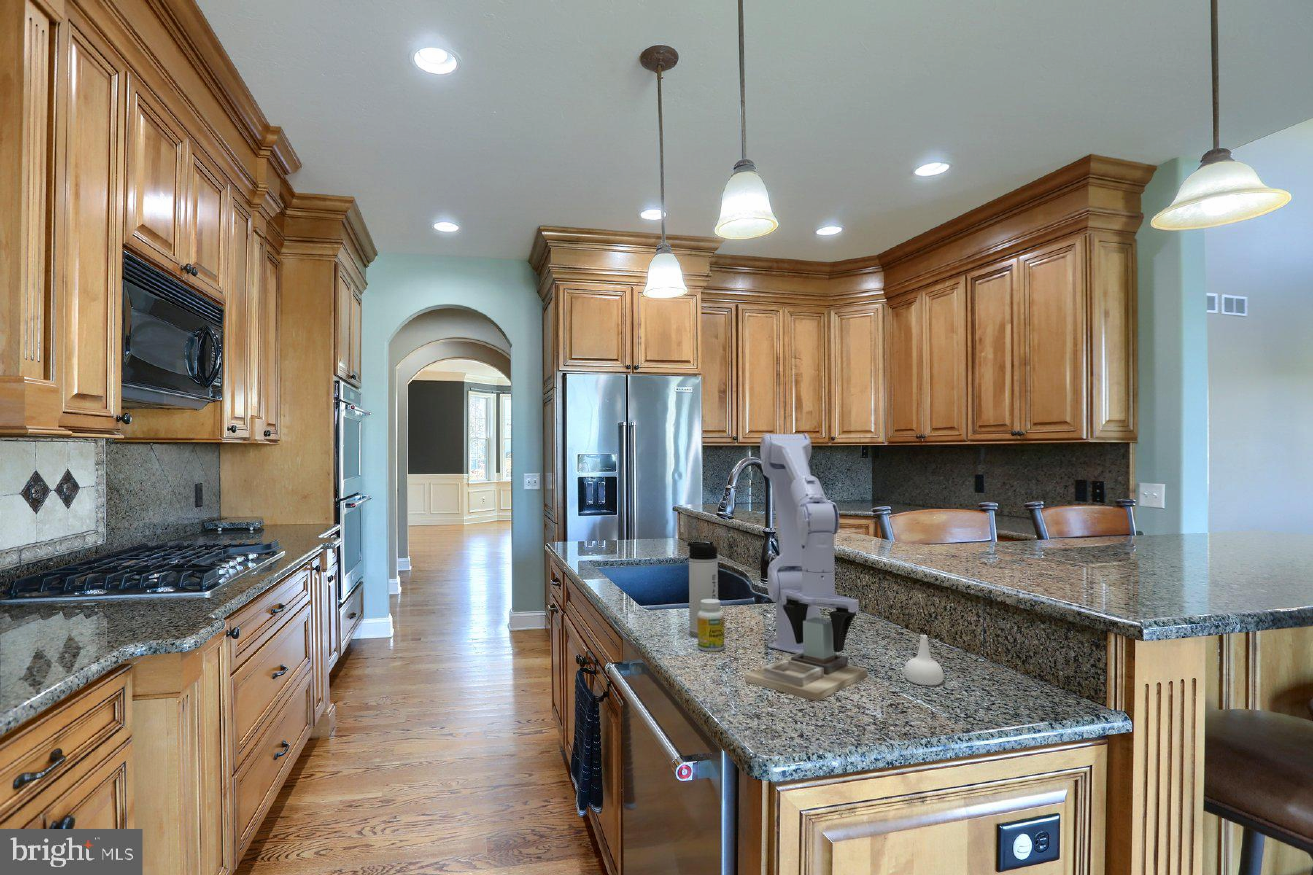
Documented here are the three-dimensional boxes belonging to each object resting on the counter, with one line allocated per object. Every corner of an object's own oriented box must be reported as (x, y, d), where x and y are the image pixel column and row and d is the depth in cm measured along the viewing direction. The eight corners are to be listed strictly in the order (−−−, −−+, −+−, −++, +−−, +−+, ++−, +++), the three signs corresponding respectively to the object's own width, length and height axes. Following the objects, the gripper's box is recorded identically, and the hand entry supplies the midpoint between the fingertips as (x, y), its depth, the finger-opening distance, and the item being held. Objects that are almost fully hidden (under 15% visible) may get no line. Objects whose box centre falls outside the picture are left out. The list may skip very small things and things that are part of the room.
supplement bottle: (713, 643, 138) (712, 596, 138) (729, 649, 133) (729, 601, 134) (692, 647, 135) (692, 599, 135) (708, 653, 130) (708, 604, 131)
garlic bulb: (904, 687, 112) (903, 641, 112) (904, 672, 118) (903, 628, 118) (944, 691, 110) (943, 644, 110) (942, 676, 116) (941, 631, 116)
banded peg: (815, 661, 121) (814, 617, 121) (835, 665, 118) (834, 620, 119) (803, 666, 118) (803, 620, 119) (823, 671, 116) (823, 624, 116)
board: (798, 659, 126) (798, 645, 126) (867, 675, 117) (867, 660, 117) (745, 681, 114) (744, 665, 114) (817, 701, 104) (817, 683, 104)
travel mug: (686, 631, 148) (685, 541, 148) (715, 630, 148) (714, 540, 149) (689, 638, 141) (689, 544, 142) (720, 637, 142) (719, 544, 143)
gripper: (771, 568, 121) (772, 643, 121) (844, 577, 111) (845, 659, 111) (792, 563, 126) (793, 635, 126) (864, 572, 116) (865, 650, 116)
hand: (819, 646), depth 118 cm, fingers open, 7 cm apart
